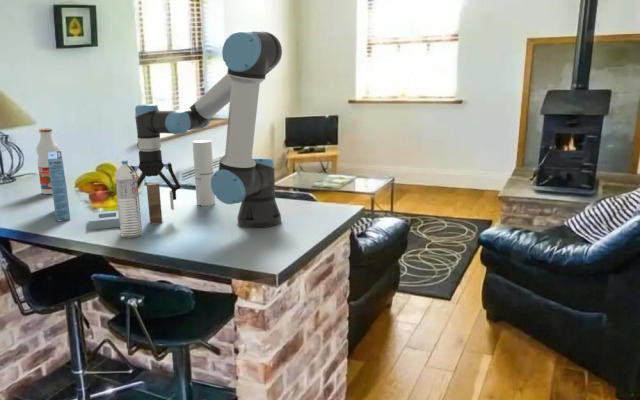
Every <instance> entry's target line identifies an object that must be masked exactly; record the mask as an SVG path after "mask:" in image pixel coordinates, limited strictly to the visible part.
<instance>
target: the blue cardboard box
mask: <svg viewBox="0 0 640 400" xmlns="http://www.w3.org/2000/svg"><path fill="white" fill-rule="evenodd" d="M62 154H63V153H62V151H61V150H59V151H55V152H48V164H49V172H50V179H51V187H52V194H51V195H52V200H53V207H54V214H55V221H56V220H65V221H70V220H71V214H70V213H71V212H70V205H69V196H68V195H69V194H68V190H67V189H68V188H67V182H66V174H65V169H64V168H65V167H64V162H63V161H64V160H63V156H62ZM68 219H69V220H68Z"/></svg>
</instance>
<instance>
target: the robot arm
mask: <svg viewBox="0 0 640 400" xmlns="http://www.w3.org/2000/svg"><path fill="white" fill-rule="evenodd" d="M282 55H283V48H282V44H281V42H280V40H279V39H278V38H277V36H275V35H274V34H273V33H270V32H268V31H257V30H256V31H254V30H253V31H252V30H245V29H244V30H241V31H240V30H239V31H236V32H233V33H231V34H230V35H229V36H228V37H227V38H226V39H225V41H224V43H223V46H222V50H221V56H222V60H223V61H224V63H225V66H226V67H227V73H226V74H225V75H224V76H223V77H221V79H219V80H218V81H217V82H216V83H215V84H214V85H213V86H212V87H211V88H210V89H209V90H207V91H206V92H205V93H204V94H203V95H202V96H200V97H199V99H197V100H196V101H195V102H194V103H193V104H191V106H190V107H187V108H182V109H175V110H159V109H158V108H159V107H158V105H157V104H156V103H155V104H154V103H144V104H143V103H142V104H137V105H136V106H135V110H134V111H135V113H134V114H135V116H134V118H135V124H136V133H137V147H138V150H139V151H138V158H139V159H138V160H139V164H138V165H137V164H136V165H134V164H131V165H130V167H132V168H133V169H134V170H135V171H136V172H137V171H138V170H139V171H141V173H140V175H139V178H137V186H138V188H139V187H140V186H141V184H142V182H143V181H144V179H145V178H146V177H148V178H149V177H157V176H159V177H160V178H161V179H162V180H163V181H164V182H165V185H167V186H168V187H169V189H170V190H169V200H170V209H171V210H172V211H173V210H175V206H174V205H175V204H174V201H176V200H177V194H176V191H177V190H181V185H180V182H179V180H178V179H177V177H176V174H175V173H174V170H173V166H172V163H171V162H170V161H169V162H166V163H164V162H163V157H162V150H161V149H162V143H161V134H173V135H181V134H182V135H183V134H184V135H185V134H186V133H188V131H193V130H200V129H203V128H206V127H207V126H209V124H210V123H211V120H212V117H214V116H215V115H216V114H217V113H219V112H220V111H221V110H222V109H224V107H225V106H227V105H228V104H229V105H228V106H229V109H228V118H227V127H226V128H227V130H226V141H225V149H224V150H225V152H224V155H223V156H222V157H221V158H220V159H219V163H218V170H216V171H215V172H214V173H213V176H212V178H211V188H212V191H213V193H214V195H215V198H216V199H217V200H218V201H220V202H221V203H223V204H226V205H234V204H240V203H241V204H240V206H239V210H238V214H237V225H239V226H241V227H244V228H252V229H253V228H255V229H258V228H260V229H261V228H270V227H273V226H277V225H279V224H280V223H281V222H282V217H281V216H282V214H281V212H280V210H279V207H278V206H279V205H278V204H277V201H276V187H275V186H276V183H275V178H276V177H275V170H276V169H275V164H274V160H273V159H272V158H271V157H262V156H253V149H254V139H255V131H256V121H257V112H258V104H259V103H258V102H259V96H260V95H259V93H260V84H261V83H263V81H265V80H266V77H267V75H268V73H270V72H271V71H272V70H273V69H275V68H276V67H277V65H279V63H280V61H281V59H282ZM164 168H165V169H166V170H168V173H169V174H170V176H171V179H172V181H173V182H174V184H175V185H173V184H172V182H171V181H170V180H169V179H168V178H167V177H166V176H165V174H164V173H163V171H162V170H163V169H164Z"/></svg>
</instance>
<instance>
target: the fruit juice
mask: <svg viewBox="0 0 640 400" xmlns="http://www.w3.org/2000/svg"><path fill="white" fill-rule="evenodd" d="M38 132H39V134H40V139H39V141H38V144H37V146H36V149H35V151H36V154H37V157H38V159H37V169H38V176H39V183H40V190H41V194H42V193H43V195H46V194H51V195H53V194H52V187H51V179H50V172H49V164H48V152H55V151H60V146H59V144H58V143H56V141H55V139H54V137H53V135H52V133H53V129H52V128H40V129H39V130H38Z"/></svg>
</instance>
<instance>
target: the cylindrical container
mask: <svg viewBox="0 0 640 400" xmlns="http://www.w3.org/2000/svg"><path fill="white" fill-rule="evenodd" d="M212 145H213V144H212V140H211V139H209V140H207V139H200V140H199V139H198V140H193V141H192V152H193V154H192V155H193V166H194V169H193V170H194V180H195V181H194V182H195V196H196V198H195V199H196V206H198V205H201V206H200V207H208V206H207V205H211V206H214V205H215V204H216V195H214V193H213V191H212V188H211V178H212V176H213V174H214V163H213V149H212V148H213V147H212ZM213 204H214V205H213Z"/></svg>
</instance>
